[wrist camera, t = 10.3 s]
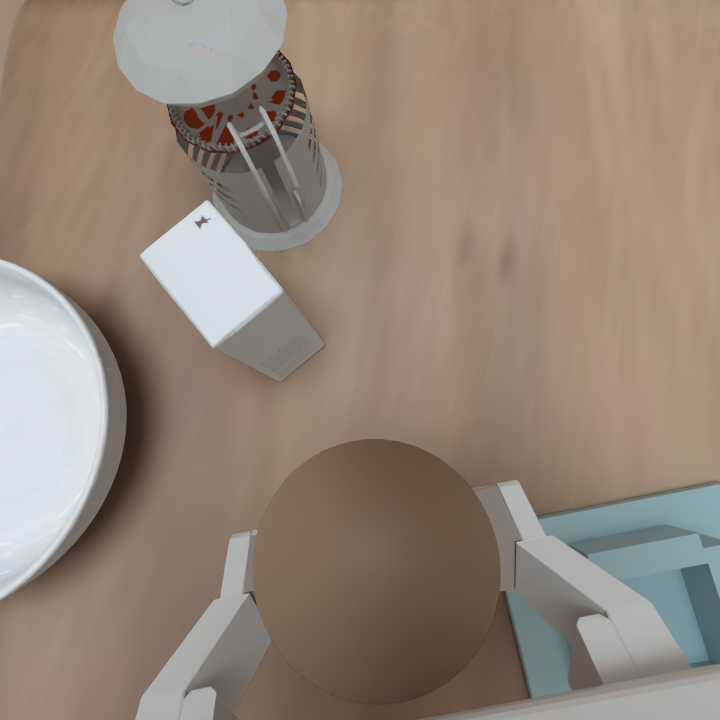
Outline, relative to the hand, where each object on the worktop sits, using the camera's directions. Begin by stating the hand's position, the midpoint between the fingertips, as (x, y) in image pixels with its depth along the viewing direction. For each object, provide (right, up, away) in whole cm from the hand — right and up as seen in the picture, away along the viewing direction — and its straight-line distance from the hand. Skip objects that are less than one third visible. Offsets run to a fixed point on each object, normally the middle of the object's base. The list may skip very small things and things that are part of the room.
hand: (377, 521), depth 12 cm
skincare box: (-6, +6, +21) cm, 23 cm away
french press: (-6, +16, +23) cm, 29 cm away
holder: (+16, -11, +16) cm, 25 cm away
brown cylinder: (0, -1, +5) cm, 5 cm away
